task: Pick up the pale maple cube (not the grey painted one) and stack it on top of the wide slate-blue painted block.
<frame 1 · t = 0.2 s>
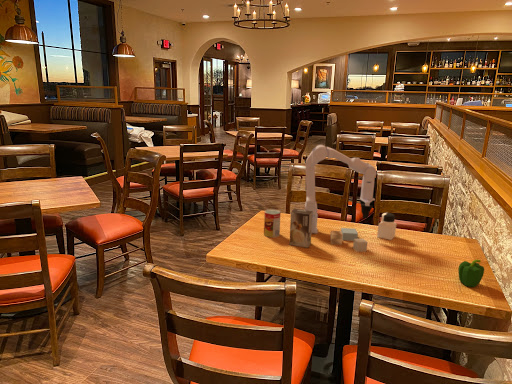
hand: (364, 215, 186), 10 cm above the table, fingers open, 7 cm apart
slate block: (348, 238, 183), on the table
canned food: (271, 234, 185), on the table
maple cube: (335, 242, 177), on the table
bell pepper: (468, 284, 140), on the table
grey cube: (359, 249, 170), on the table
coffee box: (300, 244, 174), on the table
medicine bottle: (385, 237, 186), on the table
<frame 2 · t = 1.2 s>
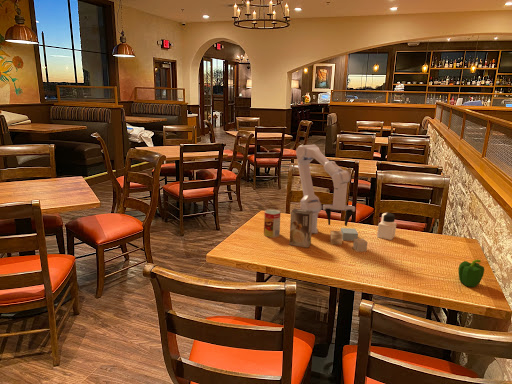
hand: (337, 224, 175), 9 cm above the table, fingers open, 7 cm apart
nothing on the table moved.
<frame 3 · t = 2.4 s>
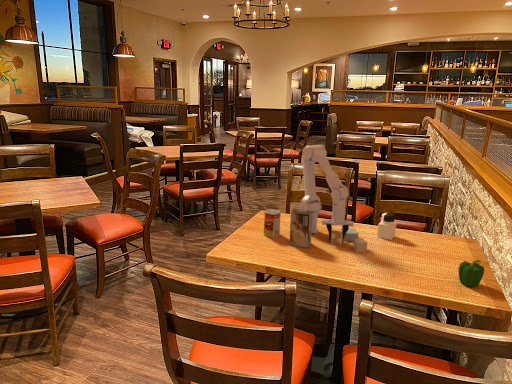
hand: (336, 239, 177), 1 cm above the table, fingers closed on maple cube, 5 cm apart
maple cube: (335, 242, 177), on the table, touching gripper
everything else where it was.
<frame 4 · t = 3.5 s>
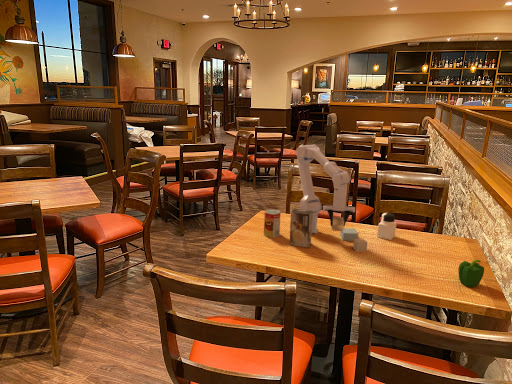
hand: (337, 225, 175), 8 cm above the table, fingers closed on maple cube, 5 cm apart
maple cube: (337, 229, 176), point 7 cm above the table, touching gripper
everything else where it was.
when the fingers open (7 cm above the table, at t = 4.9 s): maple cube drops 1 cm, resting on slate block.
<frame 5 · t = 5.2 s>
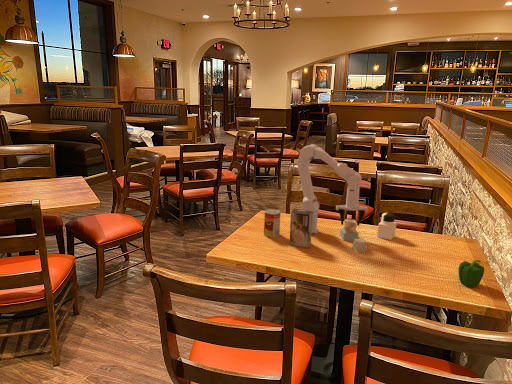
hand: (350, 224, 182), 7 cm above the table, fingers open, 7 cm apart
slate block: (348, 238, 183), on the table, touching maple cube
maple cube: (349, 230, 182), point 4 cm above the table, touching slate block
everything else where it was.
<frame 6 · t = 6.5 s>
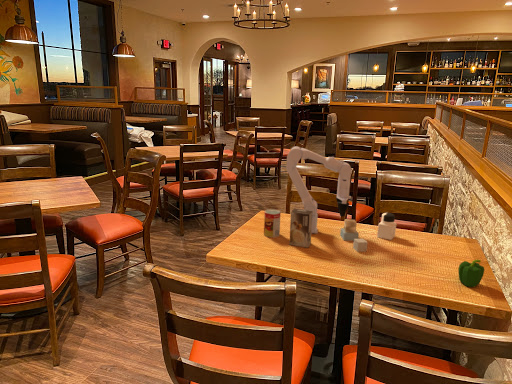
hand: (341, 213, 187), 10 cm above the table, fingers open, 7 cm apart
nothing on the table moved.
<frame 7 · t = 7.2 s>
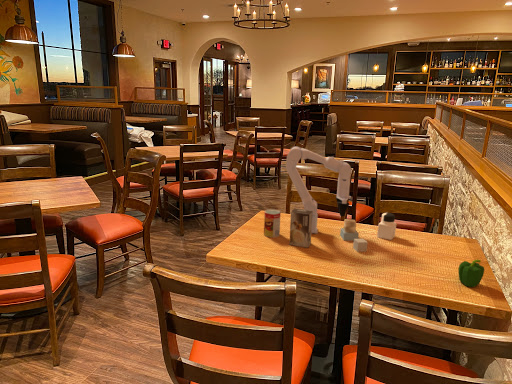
hand: (341, 213, 187), 10 cm above the table, fingers open, 7 cm apart
nothing on the table moved.
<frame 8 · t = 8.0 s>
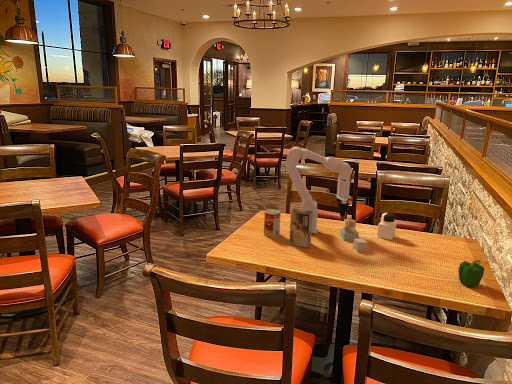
hand: (341, 213, 187), 10 cm above the table, fingers open, 7 cm apart
slate block: (348, 238, 184), on the table
maple cube: (349, 230, 183), point 4 cm above the table
everything else where it was.
at the end: maple cube 0.2 cm off-centre on the slate block, point 4.0 cm above the slate block's base; maple cube tilted 0°; the gripper is holding nothing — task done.
